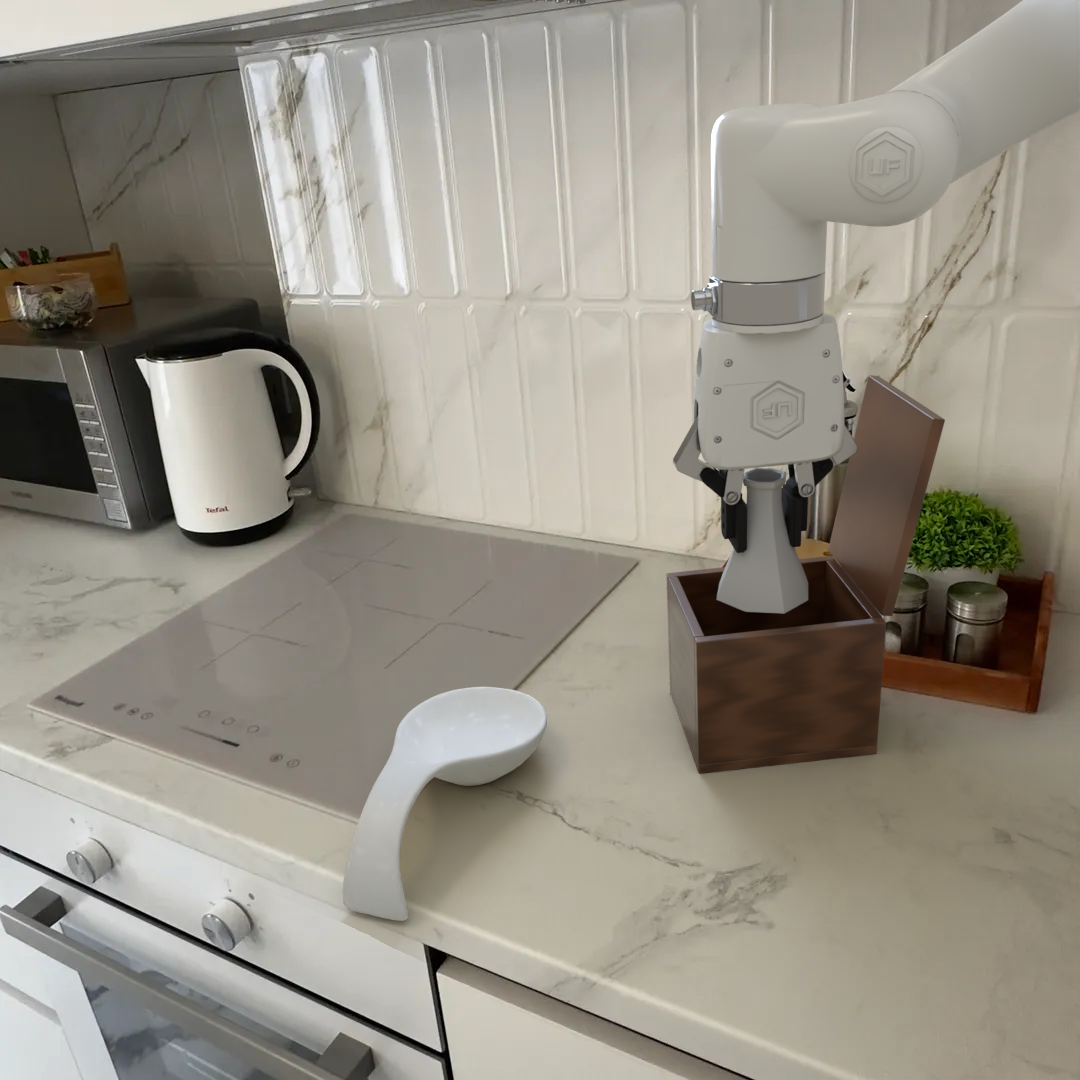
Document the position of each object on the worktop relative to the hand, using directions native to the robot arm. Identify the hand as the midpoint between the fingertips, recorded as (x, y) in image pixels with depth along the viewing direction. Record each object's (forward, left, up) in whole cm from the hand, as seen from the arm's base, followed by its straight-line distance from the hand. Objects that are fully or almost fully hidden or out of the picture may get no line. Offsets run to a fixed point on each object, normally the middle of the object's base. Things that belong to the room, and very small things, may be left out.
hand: (763, 540), depth 74 cm
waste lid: (-8, 0, +3) cm, 9 cm away
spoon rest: (+26, +6, -17) cm, 32 cm away
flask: (0, 0, -5) cm, 5 cm away
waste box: (-1, 0, -17) cm, 17 cm away
